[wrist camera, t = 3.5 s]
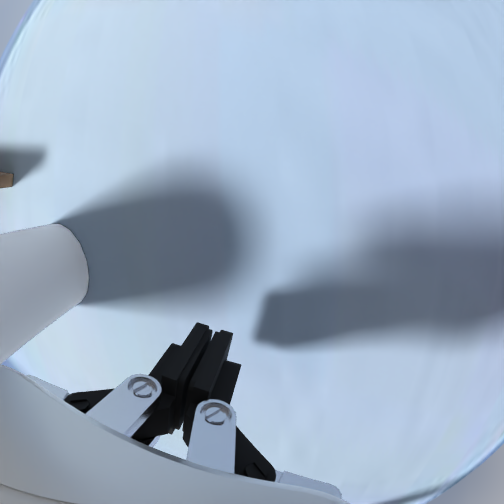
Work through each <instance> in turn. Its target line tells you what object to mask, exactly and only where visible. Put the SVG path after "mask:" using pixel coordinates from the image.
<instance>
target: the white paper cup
mask: <svg viewBox="0 0 504 504" xmlns="http://www.w3.org/2000/svg"><path fill="white" fill-rule="evenodd" d="M88 282H89V274H88V267H87V260H86V258H85V255H84V253H83V250H82V247H81V245H80V243H79V241H78V240H77V239H76V237H75V236H74V235H73V233H72V232H71V231H70V230H69V229H67V228H66V227H64V226H62V225H61V224H49V225H43V226H38V227H33V228H28V229H23V230H18V231H13V232H8V233H3V234H0V364H2V363H3V362H4V361H5V360H6V359H8V358H9V357H10V356H11V355H12V354H14V353H15V352H16V351H17V350H19V349H20V348H21V347H22V346H23V345H25V344H26V343H27V342H28V341H30V340H31V339H32V338H34V337H35V336H36V335H37V334H39V333H40V332H41V331H43V330H44V329H45V328H46V327H48V326H49V325H50V324H52V323H53V322H54V321H56V320H57V319H58V318H60V317H61V316H62V315H64V314H65V313H66V312H68V311H69V310H70V309H72V308H73V307H75V306H76V305H77V304H79V303H80V302H81V301H82V300H83V298H84V296H85V295H86V293H87V289H88Z"/></svg>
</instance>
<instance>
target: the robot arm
mask: <svg viewBox="0 0 504 504" xmlns="http://www.w3.org/2000/svg"><path fill="white" fill-rule="evenodd" d="M232 336H233V333H231V332H228V331H224V330H221V331H220V332H215V334H214V336H213V338H212V340H211V337H212V330H210V329H209V326H207V325H204V324H201V323H198V322H197V323H196V325H195V326H194V328H193V329H192V331H191V332H190V334H189V335H188V337H187V338H186V340H185V341H184V343H183V344H182V346H180V345H177V344H174V343H172V344H171V345H170V346H169V348H168V349H167V350H166V352H165V353H164V355H163V356H162V357H161V359H160V360H159V361H158V363H157V364H156V366H155V367H154V368H153V370H152V371H151V372H150V374H149V375H144V374H135V375H132V376H130V377H128V378H127V379H126V380H124V381H123V382H122V383H121V384H120V385H119V386H117V387H116V388H115V389H107V390H98V391H88V392H77V393H72V394H69V393H68V391H67V390H65V389H62V388H60V387H57V386H55V385H52V384H50V383H48V382H45V381H43V380H41V379H39V378H37V377H34V376H31V375H24V374H22V373H20V372H18V371H16V370H14V369H12V368H9V367H7V366H4V365H0V504H350V503H349V502H347V501H345V500H343V499H342V494H341V492H340V490H339V489H338V488H337V487H336V486H334V485H331V484H329V483H324V482H321V481H317V480H313V479H309V478H306V477H303V476H299V475H296V474H293V473H290V472H287V471H284V472H283V473H282V472H280V471H277V470H275V469H274V468H273V466H272V465H271V464H270V463H269V462H268V461H267V460H266V459H265V457H264V456H263V455H262V454H261V453H260V452H259V451H258V450H257V449H256V448H255V447H254V446H253V445H252V443H251V442H250V441H249V440H248V439H247V438H246V437H245V436H244V434H243V433H242V432H241V431H240V430H239V429H238V428H237V426H236V412H235V411H234V409H233V408H232V407H231V406H230V402H231V399H232V395H233V392H234V388H235V385H236V382H237V378H238V375H239V371H240V368H241V364H237V363H234V362H230V361H227V356H228V352H229V348H230V344H231V340H232ZM183 421H184V422H183ZM182 423H183V432H184V433H183V440H184V442H185V443H186V445H187V446H188V453H187V459H186V460H184V459H181V458H178V457H176V456H173V455H170V454H167V453H165V452H162V451H160V450H157V449H155V448H153V447H154V445H155V444H156V443H157V442H158V440H159V438H160V435H164V434H168V433H169V434H172V433H173V431H174V429H178V430H179V429H180V427H181V425H182Z"/></svg>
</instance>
